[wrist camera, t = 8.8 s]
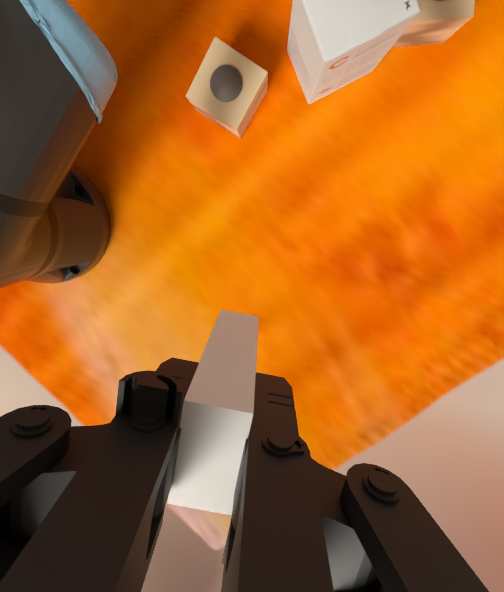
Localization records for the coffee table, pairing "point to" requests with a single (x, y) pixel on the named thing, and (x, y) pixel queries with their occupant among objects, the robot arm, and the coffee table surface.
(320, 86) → the small box
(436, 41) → the marked block
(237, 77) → the marked block
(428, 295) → the coffee table surface
